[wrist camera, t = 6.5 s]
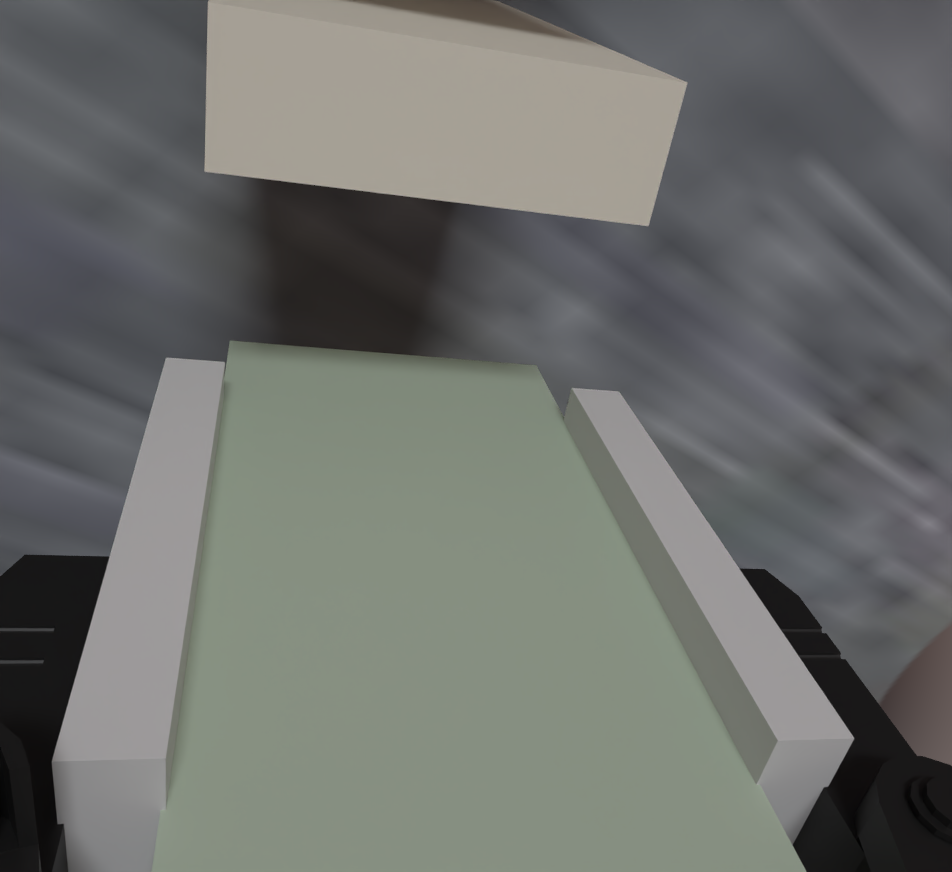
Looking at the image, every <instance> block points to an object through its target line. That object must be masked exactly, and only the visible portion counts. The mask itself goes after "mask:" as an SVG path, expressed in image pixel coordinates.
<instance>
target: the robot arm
mask: <svg viewBox="0 0 952 872" xmlns="http://www.w3.org/2000/svg"><path fill="white" fill-rule="evenodd" d="M224 377H225V362H218V361H204V360H191V359H178V358H166V360H165V363H164V367H163V370H162V374H161V377H160V381H159V385H158V388H157V392H156V395H155V399H154V402H153V406H152V409H151V413H150V416H149V420H148V423H147V427H146V430H145V434H144V437H143V441H142V445H141V448H140V452H139V455H138V459H137V462H136V466H135V469H134V473H133V476H132V480H131V483H130V487H129V490H128V494H127V497H126V501H125V505H124V508H123V512H122V515H121V519H120V522H119V526H118V529H117V533H116V536H115V540H114V543H113V547H112V550H111V554H110V557H101V556H57V555H24V556H23V557H22V558H21V559H20V560H19V561H17V562H16V563H15V564H14V565H13V566H12V567H11V568H9V569H8V570H7V571H6V572H5V573H4V574H3V575H1V576H0V872H152V865H153V858H154V852H155V845H156V838H157V831H158V825H159V818H160V811H161V810H166V805H167V798H168V791H169V784H170V777H171V770H172V762H173V755H174V748H175V741H176V734H177V727H178V720H179V713H180V706H181V699H182V691H183V684H184V677H185V670H186V663H187V656H188V649H189V642H190V635H191V628H192V620H193V613H194V606H195V599H196V592H197V585H198V578H199V571H200V564H201V557H202V549H203V542H204V535H205V528H206V521H207V514H208V507H209V500H210V493H211V486H212V478H213V471H214V464H215V457H216V450H217V443H218V436H219V429H220V422H221V415H222V407H223V400H224ZM564 423H565V424H566V426H567V428H568V430H569V432H570V434H571V436H572V438H573V440H574V441H575V443H576V445H577V447H578V449H579V451H580V453H581V455H582V457H583V458H584V460H585V462H586V464H587V466H588V468H589V470H590V472H591V474H592V475H593V477H594V479H595V481H596V483H597V485H598V487H599V489H600V491H601V492H602V494H603V496H604V498H605V500H606V502H607V504H608V506H609V508H610V509H611V511H612V513H613V515H614V517H615V519H616V521H617V523H618V525H619V526H620V528H621V530H622V532H623V534H624V536H625V538H626V540H627V542H628V543H629V545H630V547H631V549H632V551H633V553H634V555H635V557H636V559H637V560H638V562H639V564H640V566H641V568H642V570H643V572H644V574H645V576H646V577H647V579H648V581H649V583H650V585H651V587H652V589H653V591H654V593H655V594H656V596H657V598H658V600H659V602H660V604H661V606H662V608H663V609H664V611H665V613H666V615H667V617H668V619H669V621H670V623H671V625H672V626H673V628H674V630H675V632H676V634H677V636H678V638H679V640H680V642H681V643H682V645H683V647H684V649H685V651H686V653H687V655H688V657H689V659H690V660H691V662H692V664H693V666H694V668H695V670H696V672H697V674H698V676H699V677H700V679H701V681H702V683H703V685H704V687H705V689H706V691H707V693H708V694H709V696H710V698H711V700H712V702H713V704H714V706H715V708H716V710H717V711H718V713H719V715H720V717H721V719H722V721H723V723H724V725H725V727H726V728H727V730H728V732H729V734H730V736H731V738H732V740H733V742H734V744H735V745H736V747H737V749H738V751H739V753H740V755H741V757H742V759H743V761H744V762H745V764H746V766H747V768H748V770H749V772H750V774H751V776H752V778H753V779H754V781H755V783H756V785H760V786H761V787H762V789H763V791H764V793H765V795H766V797H767V799H768V800H769V802H770V804H771V806H772V808H773V810H774V812H775V814H776V815H777V817H778V819H779V821H780V823H781V825H782V827H783V829H784V830H785V832H786V834H787V836H788V838H789V840H790V842H791V844H792V845H793V847H794V849H795V851H796V853H797V855H798V857H799V859H800V860H801V862H802V864H803V866H804V868H805V870H806V872H952V766H951V765H948V764H945V763H942V762H939V761H935V760H933V759H929V758H926V757H923V756H917V755H916V754H915V753H914V752H913V750H912V749H911V748H910V746H909V745H908V743H907V742H906V741H905V739H904V738H903V737H902V735H901V734H900V733H899V731H898V730H897V728H896V727H895V726H894V725H893V723H892V722H891V720H890V719H889V718H888V716H887V715H886V714H885V712H884V711H883V710H882V708H881V707H880V705H879V704H878V703H877V701H876V700H875V699H874V697H873V696H872V695H871V693H870V692H869V691H868V689H867V688H866V686H865V685H864V684H863V682H862V681H861V680H860V678H859V677H858V676H857V674H856V673H855V672H854V670H853V669H852V668H851V666H850V665H849V663H848V662H847V661H846V659H841V658H840V654H841V653H840V651H839V650H838V649H837V647H836V646H835V645H834V643H833V642H832V640H831V639H830V638H829V636H828V635H827V634H826V633H822V631H821V628H822V627H821V626H820V624H819V623H818V621H817V620H816V619H815V617H814V616H813V615H812V613H811V612H810V611H809V609H808V608H807V607H806V605H805V604H804V603H803V601H802V600H801V598H800V597H799V596H798V595H797V594H795V593H794V592H793V591H792V590H790V589H789V588H788V587H787V586H785V585H784V584H783V583H781V582H780V581H779V580H778V579H776V578H775V577H774V576H773V575H771V574H770V573H769V572H768V571H766V570H765V569H739V568H738V566H737V565H736V563H735V562H734V560H733V559H732V557H731V556H730V554H729V553H728V551H727V550H726V549H725V547H724V546H723V544H722V543H721V541H720V540H719V538H718V537H717V535H716V534H715V532H714V531H713V529H712V528H711V526H710V525H709V523H708V522H707V521H706V519H705V518H704V516H703V515H702V513H701V512H700V510H699V509H698V507H697V506H696V504H695V503H694V501H693V500H692V498H691V497H690V495H689V494H688V493H687V491H686V490H685V488H684V487H683V485H682V484H681V482H680V481H679V479H678V478H677V476H676V475H675V473H674V472H673V470H672V469H671V468H670V466H669V465H668V463H667V462H666V460H665V459H664V457H663V456H662V454H661V453H660V451H659V450H658V448H657V447H656V445H655V444H654V442H653V441H652V440H651V438H650V437H649V435H648V434H647V432H646V431H645V429H644V428H643V426H642V425H641V423H640V422H639V420H638V419H637V417H636V416H635V414H634V413H633V412H632V410H631V409H630V407H629V406H628V404H627V403H626V401H625V400H624V398H623V397H622V395H621V394H620V392H618V391H605V390H591V389H578V388H572V389H571V393H570V397H569V401H568V405H567V409H566V413H565V417H564Z"/></svg>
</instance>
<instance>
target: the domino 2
mask: <svg viewBox="0 0 952 872" xmlns="http://www.w3.org/2000/svg"><path fill="white" fill-rule="evenodd" d="M152 872H806V870H805V868H804V866H803V864H802V862H801V860H800V859H799V857H798V855H797V853H796V851H795V849H794V847H793V845H792V844H791V842H790V840H789V838H788V836H787V834H786V832H785V830H784V829H783V827H782V825H781V823H780V821H779V819H778V817H777V815H776V814H775V812H774V810H773V808H772V806H771V804H770V802H769V800H768V799H767V797H766V795H765V793H764V791H763V789H762V787H761V786H760V785H756V783H755V781H754V779H753V778H752V776H751V774H750V772H749V770H748V768H747V766H746V764H745V762H744V761H743V759H742V757H741V755H740V753H739V751H738V749H737V747H736V745H735V744H734V742H733V740H732V738H731V736H730V734H729V732H728V730H727V728H726V727H725V725H724V723H723V721H722V719H721V717H720V715H719V713H718V711H717V710H716V708H715V706H714V704H713V702H712V700H711V698H710V696H709V694H708V693H707V691H706V689H705V687H704V685H703V683H702V681H701V679H700V677H699V676H698V674H697V672H696V670H695V668H694V666H693V664H692V662H691V660H690V659H689V657H688V655H687V653H686V651H685V649H684V647H683V645H682V643H681V642H680V640H679V638H678V636H677V634H676V632H675V630H674V628H673V626H672V625H671V623H670V621H669V619H668V617H667V615H666V613H665V611H664V609H663V608H662V606H661V604H660V602H659V600H658V598H657V596H656V594H655V593H654V591H653V589H652V587H651V585H650V583H649V581H648V579H647V577H646V576H645V574H644V572H643V570H642V568H641V566H640V564H639V562H638V560H637V559H636V557H635V555H634V553H633V551H632V549H631V547H630V545H629V543H628V542H627V540H626V538H625V536H624V534H623V532H622V530H621V528H620V526H619V525H618V523H617V521H616V519H615V517H614V515H613V513H612V511H611V509H610V508H609V506H608V504H607V502H606V500H605V498H604V496H603V494H602V492H601V491H600V489H599V487H598V485H597V483H596V481H595V479H594V477H593V475H592V474H591V472H590V470H589V468H588V466H587V464H586V462H585V460H584V458H583V457H582V455H581V453H580V451H579V449H578V447H577V445H576V443H575V441H574V440H573V438H572V436H571V434H570V432H569V430H568V428H567V426H566V424H565V423H564V417H563V415H562V413H561V411H560V409H559V407H558V406H557V404H556V402H555V400H554V398H553V396H552V394H551V392H550V391H549V389H548V387H547V385H546V383H545V381H544V379H543V377H542V376H541V374H540V372H539V370H538V368H537V366H536V365H526V364H513V363H501V362H489V361H476V360H464V359H451V358H439V357H427V356H414V355H402V354H390V353H377V352H365V351H353V350H340V349H328V348H316V347H303V346H291V345H279V344H266V343H254V342H241V341H230V343H229V350H228V357H227V364H226V370H225V377H224V400H223V407H222V415H221V422H220V429H219V436H218V443H217V450H216V457H215V464H214V471H213V478H212V486H211V493H210V500H209V507H208V514H207V521H206V528H205V535H204V542H203V549H202V557H201V564H200V571H199V578H198V585H197V592H196V599H195V606H194V613H193V620H192V628H191V635H190V642H189V649H188V656H187V663H186V670H185V677H184V684H183V691H182V699H181V706H180V713H179V720H178V727H177V734H176V741H175V748H174V755H173V762H172V770H171V777H170V784H169V791H168V798H167V805H166V810H161V811H160V818H159V825H158V831H157V838H156V845H155V852H154V858H153V865H152Z"/></svg>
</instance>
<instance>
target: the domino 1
mask: <svg viewBox="0 0 952 872" xmlns="http://www.w3.org/2000/svg"><path fill="white" fill-rule="evenodd" d="M686 86H687V82H685V81H682V80H680V79H678V78H675V77H673V76H671V75H669V74H666V73H664V72H662V71H659V70H657V69H655V68H652V67H650V66H648V65H645V64H643V63H641V62H638V61H636V60H634V59H631V58H629V57H627V56H624V55H622V54H620V53H617V52H615V51H613V50H610V49H608V48H606V47H603V46H601V45H599V44H597V43H594V42H592V41H590V40H587V39H585V38H583V37H580V36H578V35H576V34H573V33H571V32H569V31H566V30H564V29H562V28H559V27H557V26H555V25H552V24H550V23H548V22H545V21H543V20H541V19H538V18H536V17H534V16H532V15H529V14H527V13H525V12H522V11H520V10H518V9H515V8H513V7H511V6H508V5H506V4H504V3H501V2H499V1H494V0H209V1H208V27H207V78H206V129H205V172H212V173H220V174H228V175H236V176H244V177H253V178H261V179H269V180H277V181H285V182H293V183H301V184H310V185H318V186H326V187H334V188H342V189H350V190H358V191H367V192H375V193H383V194H391V195H399V196H407V197H416V198H424V199H432V200H440V201H448V202H456V203H464V204H473V205H481V206H489V207H497V208H505V209H513V210H521V211H530V212H538V213H546V214H554V215H562V216H570V217H579V218H587V219H595V220H603V221H611V222H619V223H627V224H636V225H644V226H649V222H650V218H651V215H652V211H653V207H654V204H655V200H656V196H657V193H658V189H659V185H660V182H661V178H662V174H663V170H664V167H665V163H666V159H667V156H668V152H669V148H670V145H671V141H672V137H673V134H674V130H675V126H676V123H677V119H678V115H679V112H680V108H681V104H682V100H683V97H684V93H685V89H686Z"/></svg>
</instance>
